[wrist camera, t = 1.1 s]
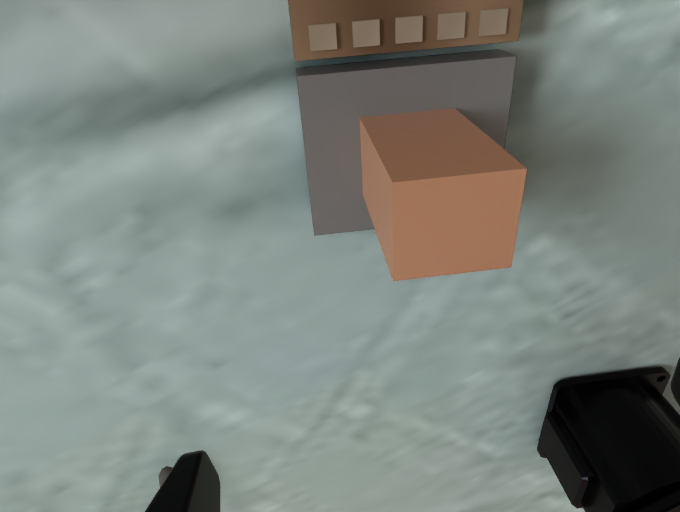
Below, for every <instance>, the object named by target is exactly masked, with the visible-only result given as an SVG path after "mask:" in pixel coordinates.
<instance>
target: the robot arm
mask: <svg viewBox="0 0 680 512" xmlns="http://www.w3.org/2000/svg"><path fill="white" fill-rule="evenodd" d="M669 378H670V374H669V373H668V372H667V371H666V369H665V368H663V367H656V368H648V369H641V370H633V371H625V372H618V373H610V374H603V375H595V376H587V377H580V378H572V379H565V380H560V381H558V382H557V383H556V384H555V385H554V386H553V390H552V393H551V397H550V401H549V405H548V409H547V412H546V416H545V418H544V422H543V426H542V430H541V434H540V438H539V443H538V447H537V451H538V453H539V454H540V456H541V457H543V458H547V459H548V461H549V463H550V465H551V467H552V468H553V470H554V472H555V474H556V476H557V478H558V480H559V481H560V483H561V485H562V487H563V489H564V491H565V493H566V494H567V496H568V498H569V500H570V502H571V504H572V505H573V506H575V507H576V508H583V509H584V510H585V512H680V414H679V413H678V412H677V411H676V410H675V409H674V408H673V407H672V405H671V404H670V403H669V402H668V401H667V400H666V399H665V397H664V396H663V395H662V394H663V392H664V389H665V387H666V385H667V383H668V380H669ZM671 390H672V393H673V396H674V398H675V399H676V401H677V403H678V404H679V406H680V358H679V360H678V363H677V366H676V369H675V372H674V375H673V378H672V381H671ZM145 512H220V480H219V476H218V473H217V472H216V470H215V468H214V466H213V464H212V462H211V460H210V458H209V457H208V455H207V453H206V452H205V451H203V450H200V451H195V452H190V453H186V454H183V455H182V456H181V457H180V458H179V459H178V461H177V462H176V464H175V465H174V467H173V469H172V470H171V472H170V473H169V475H168V476H167V478H166V479H165V481H164V483H163V484H162V486H161V487H160V489H159V490H158V492H157V493H156V495H155V497H154V498H153V500H152V501H151V503H150V504H149V506H148V508H147V509H146V511H145Z"/></svg>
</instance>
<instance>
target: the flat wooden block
mask: <svg viewBox="0 0 680 512" xmlns="http://www.w3.org/2000/svg"><path fill="white" fill-rule="evenodd" d="M523 1H524V0H288V4H289V13H290V22H291V31H292V40H293V49H294V57H295V61H301V60H312V59H323V58H334V57H345V56H357V55H368V54H379V53H390V52H401V51H412V50H423V49H434V48H445V47H456V46H467V45H478V44H490V43H501V42H512V41H518V39H519V32H520V24H521V16H522V8H523Z"/></svg>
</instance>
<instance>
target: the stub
mask: <svg viewBox="0 0 680 512" xmlns="http://www.w3.org/2000/svg"><path fill="white" fill-rule="evenodd" d="M515 63H516V56H514V55H512V54H509V53H507V52H504V51H501V50H488V51H477V52H466V53H455V54H444V55H433V56H422V57H411V58H400V59H389V60H378V61H367V62H356V63H345V64H334V65H323V66H312V67H301V68H296V76H297V85H298V94H299V103H300V112H301V121H302V130H303V139H304V148H305V157H306V166H307V175H308V184H309V193H310V202H311V211H312V220H313V228H314V236H315V235H324V234H333V233H342V232H351V231H360V230H369V229H375V231H376V234H377V237H378V239H379V242H380V245H381V248H382V251H383V254H384V256H385V259H386V262H387V265H388V268H389V271H390V274H391V276H392V279H393V281H398V280H406V279H415V278H423V277H432V276H441V275H449V274H458V273H466V272H475V271H483V270H492V269H500V268H509V267H511V266H512V260H513V254H514V247H515V241H516V235H517V229H518V222H519V216H520V210H521V204H522V197H523V191H524V185H525V179H526V172H527V168H526V167H525V166H524V165H522V164H521V163H520V162H519V161H518V160H516V159H515V158H514V157H513V156H512V155H510V154H509V153H508V152H507V151H506V150H504V148H505V140H506V133H507V125H508V117H509V109H510V102H511V94H512V86H513V78H514V71H515Z"/></svg>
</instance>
